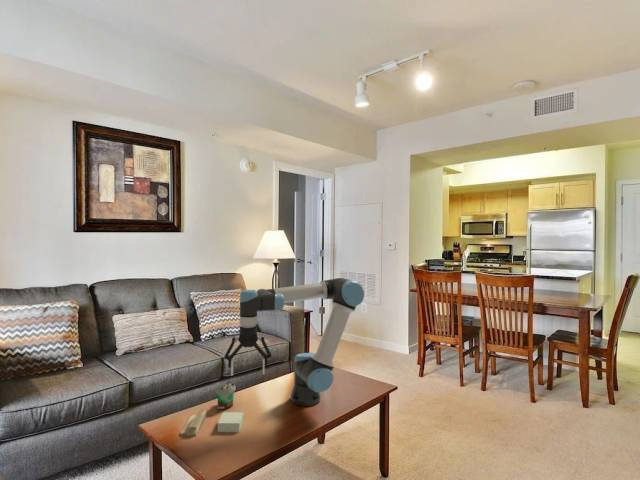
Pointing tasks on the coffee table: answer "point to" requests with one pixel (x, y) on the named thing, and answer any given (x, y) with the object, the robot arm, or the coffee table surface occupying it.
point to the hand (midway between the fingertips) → (247, 374)
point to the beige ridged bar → (194, 423)
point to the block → (230, 422)
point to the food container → (226, 396)
